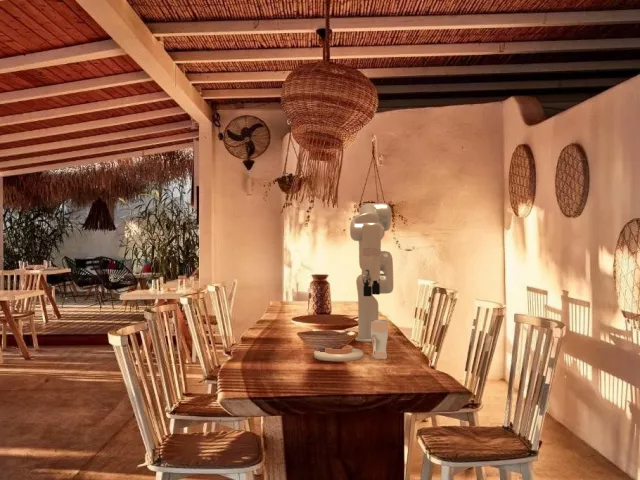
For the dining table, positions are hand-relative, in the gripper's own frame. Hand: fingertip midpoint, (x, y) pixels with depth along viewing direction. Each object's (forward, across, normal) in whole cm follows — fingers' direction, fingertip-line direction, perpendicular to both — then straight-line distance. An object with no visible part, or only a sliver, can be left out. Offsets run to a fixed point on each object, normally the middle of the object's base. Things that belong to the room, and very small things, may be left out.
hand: (371, 295), depth 245 cm
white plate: (+25, +4, -13) cm, 29 cm away
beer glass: (+25, 0, +3) cm, 25 cm away
